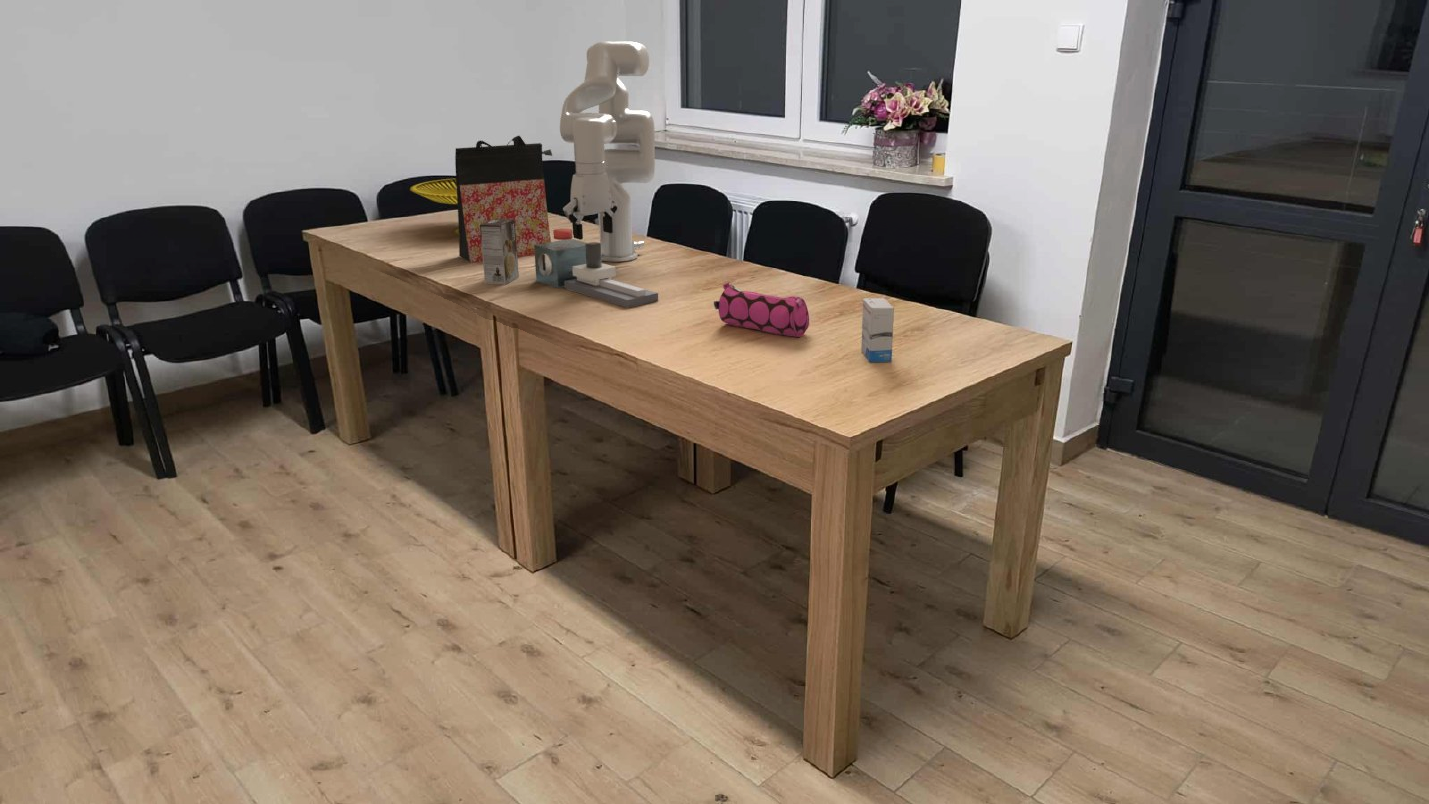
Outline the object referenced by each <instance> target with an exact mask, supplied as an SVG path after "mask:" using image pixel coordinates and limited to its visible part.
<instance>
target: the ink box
mask: <svg viewBox="0 0 1429 804" xmlns="http://www.w3.org/2000/svg"><path fill="white" fill-rule="evenodd" d="M861 317H862V322H861V323H862V324H861V347H860V349H861V352H862V353H863V355H864V356H865V358H866V359H867V360H868V362H869V363H870V362H872V363H888V362H891V363H892V359H893V337H894V336H893V335H894V322H895V321H894V320H895V307H894V306H892V304H890V303H889V301H888V300H887V299H886V298H884V297H883V298H882V297H881V298H879V297H878V298H875V297H871V298H870V297H869V298H868V297H865V298H863V299H862V316H861Z"/></svg>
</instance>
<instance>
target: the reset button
mask: <svg viewBox="0 0 1429 804" xmlns="http://www.w3.org/2000/svg"><path fill="white" fill-rule="evenodd" d="M552 232H553V234H552V235H553V239H554V240H556V241H559V240H567V239H573V238H574V237H573V229H571V228H556V229H554V230H553V231H552Z"/></svg>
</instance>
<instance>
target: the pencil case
mask: <svg viewBox="0 0 1429 804" xmlns="http://www.w3.org/2000/svg"><path fill="white" fill-rule="evenodd" d="M722 288H723V292H722V293H721V295H720V296H719V300H718V301H717V300H716V301H713V306H714V309H715V310H718V316H719V318H720V320H721V321H722V322H723V323H725V324H727V325H730V326H733V325H735V327H740V326H741V327H740V328H744V327H745V328H744V329H755V330H757V331H762V332H765V333H769V334H770V333H771V334H773V335H774V334H775V335H780V336H786V335H787V336H789V337H797V338H801V337H803V336H804V335H805V334H806V331H807V330H808V329H809V326H810V313H809V310H808V306H807V304H806V301H805V299H804V298H801V297H799V296H794V295H793V296H787V297H780V296H775V295H769V294H763V293H760V292H755V291H747V290H746V291H745V290H742V289H739V288H738V287H736V286H734V284H730V281H728V282H725V283H723V284H722Z"/></svg>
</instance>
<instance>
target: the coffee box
mask: <svg viewBox="0 0 1429 804" xmlns="http://www.w3.org/2000/svg"><path fill="white" fill-rule="evenodd" d="M480 232H481V243H482V255H483V261H482V265H483V275H484V276H483V277H484V283H485V284H489V285H490V284H491V285H492V284H493V285H507V284H509V283H511V282H512V281H515V280H516V279H517V278H519V276H520V274H519V273H520V272H519V260H518V258H519V257H517V244H516V231H515V219H492V220H489V221H487V222H485V223H483V224H480Z"/></svg>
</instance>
